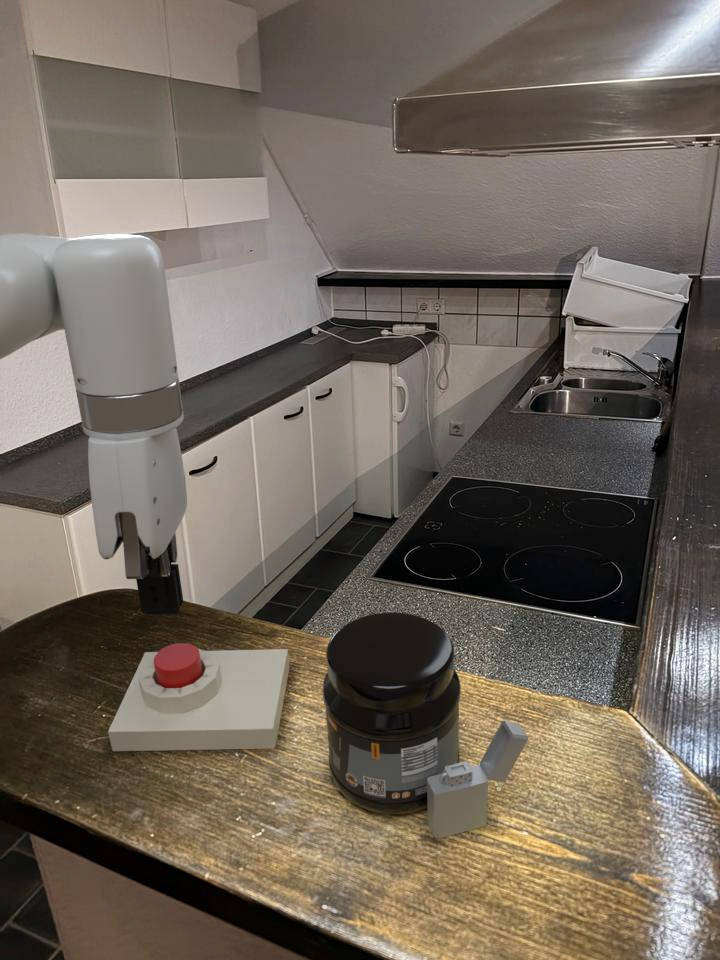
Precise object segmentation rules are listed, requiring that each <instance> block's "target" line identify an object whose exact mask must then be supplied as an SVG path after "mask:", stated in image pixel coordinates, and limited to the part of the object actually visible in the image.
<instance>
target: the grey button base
mask: <svg viewBox="0 0 720 960" xmlns="http://www.w3.org/2000/svg"><path fill="white" fill-rule="evenodd" d="M198 650H199V653H200V659H201V665H202V675H201V677H200V678H199V679H198V680H197V681H196V682H195V683H193V684H190V685H188V686H185V687H182V688H164V687H162V686H160V685H159V683H158V681H157V677H156V672H155V667H154V658H155V656H156V654H157V653H158V652H159V651H145V652H144V653H143V656H142V658H141V660H140V662H139V665H138V667H137V668H136V671H135V672H134V675H133V677H132V680H131V681H130V684H129V686H128V688H127V690H126V692H125V694H124V697H123V698H122V701H121V703H120V705H119V707H118V709H117V712H116V713H115V715H114V718H113V720H112V722H111V723H110V726H109V728H108V731H107V734H108V737H109V742H110V746H111V751H112V752H154V751H155V752H157V751H159V752H161V751H162V752H163V751H164V752H165V751H215V750H219V751H221V750H223V751H224V750H271V749H272V750H275V749H276V747H277V742H278V736H279V729H280V723H281V720H282V719H281V718H282V714H283V713H282V712H283V707H284V701H285V695H286V690H287V685H288V680H289V673H290V667H291V666H290V657H289V649H288V648H276V649H274V648H273V649H271V648H270V649H232V650H231V649H230V650H229V649H226V650H204V649H202V648H201V649H200V648H198Z"/></svg>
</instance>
